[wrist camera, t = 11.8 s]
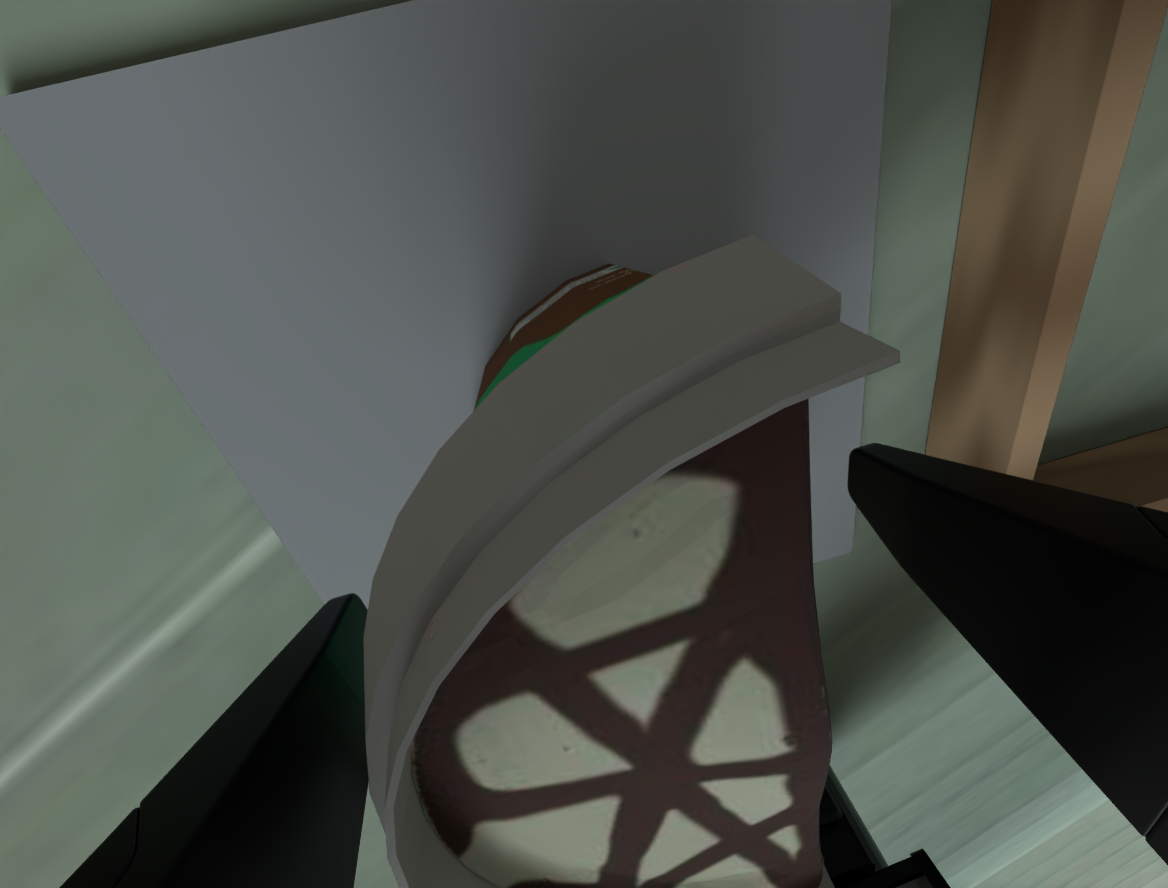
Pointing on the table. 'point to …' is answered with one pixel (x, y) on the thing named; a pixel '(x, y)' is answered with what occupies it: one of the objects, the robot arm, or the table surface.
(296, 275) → the slate mat
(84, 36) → the table surface
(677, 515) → the food container
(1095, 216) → the walnut frame
